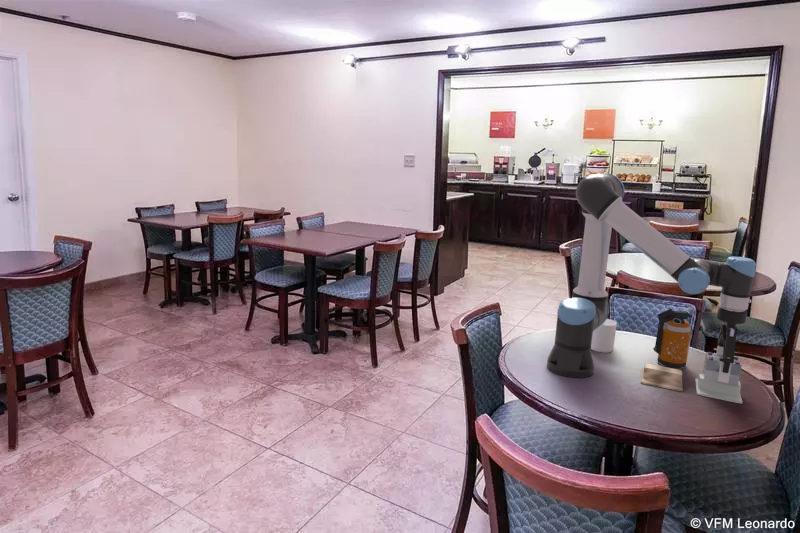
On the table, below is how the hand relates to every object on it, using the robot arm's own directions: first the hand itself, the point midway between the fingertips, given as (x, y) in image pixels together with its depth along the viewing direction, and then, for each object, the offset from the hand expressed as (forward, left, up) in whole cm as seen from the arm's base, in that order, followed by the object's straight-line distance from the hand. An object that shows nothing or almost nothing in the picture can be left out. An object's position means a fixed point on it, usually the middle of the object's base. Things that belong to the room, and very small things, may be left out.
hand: (720, 373), depth 167 cm
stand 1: (-16, 0, -6) cm, 17 cm away
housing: (0, 0, -2) cm, 2 cm away
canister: (-14, +16, -6) cm, 22 cm away
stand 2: (0, 0, -6) cm, 6 cm away
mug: (-36, +21, -6) cm, 42 cm away
